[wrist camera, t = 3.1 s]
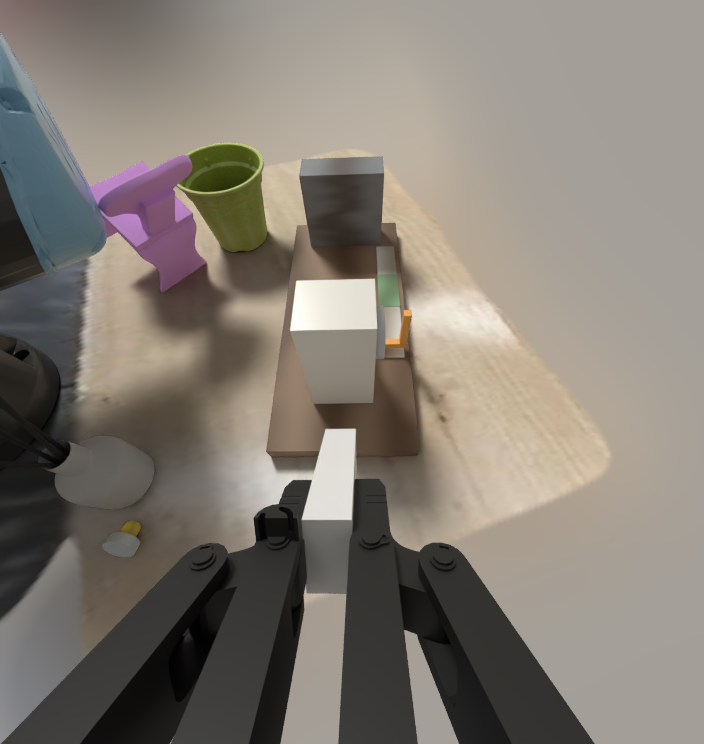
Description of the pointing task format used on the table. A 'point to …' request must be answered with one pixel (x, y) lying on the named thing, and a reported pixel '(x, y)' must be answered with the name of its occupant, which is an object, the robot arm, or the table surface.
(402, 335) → the orange l-shaped piece
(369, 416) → the gauge board
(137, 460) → the reed diffuser
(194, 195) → the plant pot
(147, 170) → the toy chair
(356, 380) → the block
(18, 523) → the table surface
